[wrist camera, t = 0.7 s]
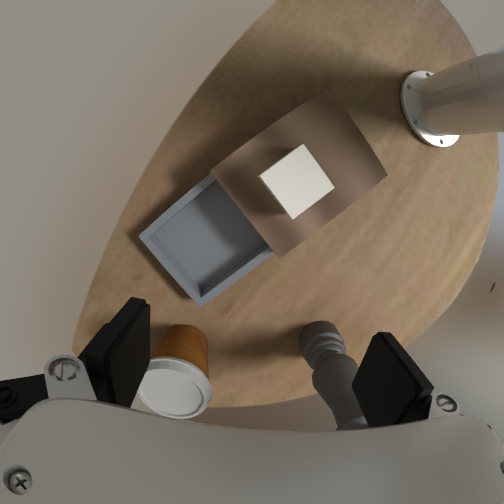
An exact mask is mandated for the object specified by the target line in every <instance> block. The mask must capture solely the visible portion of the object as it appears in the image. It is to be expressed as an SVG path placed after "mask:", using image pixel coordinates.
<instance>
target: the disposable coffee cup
mask: <svg viewBox="0 0 504 504" xmlns="http://www.w3.org/2000/svg"><path fill="white" fill-rule="evenodd" d="M137 392H138V394H139V397H140V398H141V400H142V401H143V402H144V403H145V404H146V405H147V406H148V407H149V408H151V409H152V410H154V411H155V412H157V413H159V414H161V415H164V416H167V417H171V418H179V419H181V418H183V419H185V418H190V417H194V416H196V415H198V414H200V413H201V412H202V411H203V410H204V409H205V407H206V406H207V405H208V404H209V403H210V401H211V398H212V388H211V385H210V382H209V377H208V352H207V340H206V337H205V335H204V334H203V333H202V332H201V331H200V330H199V329H197V328H195V327H193V326H190V325H178V326H175V327H173V328H172V329H171V330H170V331H169V332H168V334H167V335H166V336H165V338H164V339H163V341H162V342H161V343H160V345H159V346H158V347H157V349H156V350H155V352H154V353H153V354H152V356H151V357H150V363H149V366H148V369H147V371H146V373H145V375H144V377H143V380H142V382H141V384H140V386H139V389H138V391H137Z"/></svg>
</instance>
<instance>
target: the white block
mask: <svg viewBox="0 0 504 504" xmlns="http://www.w3.org/2000/svg"><path fill="white" fill-rule="evenodd" d="M257 177H258V178H259V179H260V180H261V182H262V183H263V184H264V186H265V187H266V188H267V190H268V191H269V192H270V193H271V195H272V196H273V197H274V199H275V200H276V201H277V203H278V204H279V205H280V207H281V208H282V209H283V211H284V212H285V213H286V214H287V215H288V216H289V217H290V218H292V219H294V218H296V217H297V216H298V215H300V214H301V213H302V212H303V211H305V210H306V209H307V208H309V207H310V206H311V205H313V204H314V203H315V202H317V201H318V200H319V199H321V198H322V197H323V196H325V195H326V194H327V193H329V192H330V191H331V190H333V189H334V188H335V187H334V186H333V184H332V183H331V182H330V180H329V179H328V177H327V176H326V174H325V173H324V172H323V170H322V169H321V167H320V166H319V164H318V163H317V162H316V160H315V159H314V158H313V156H312V155H311V154H310V152H309V151H308V149H307V148H306V147H305V145H304V144H302V145H300V146H298V147H297V148H295V149H294V150H292V151H291V152H289V153H288V154H287V155H285V156H284V157H282V158H281V159H280V160H278V161H277V162H276V163H274V164H273V165H272V166H270V167H269V168H268V169H266V170H265V171H264V172H262V173H261V174H260V175H258V176H257Z"/></svg>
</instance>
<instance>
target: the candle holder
mask: <svg viewBox="0 0 504 504" xmlns="http://www.w3.org/2000/svg"><path fill="white" fill-rule="evenodd" d="M299 342H300V347H301V350H302V353H303V356H304V358H305V360H306V361H307V363H308V364H309V366H310V367H311V368H312V369H314V371H313V374H312V381H313V386H314V388H315V389H316V390H317V392H318V393H319V394H320V395H321V397H322V398H323V399H324V401H325V402H326V403H327V405H328V406H329V407H330V409H331V410H332V412H333V415H334V417H335V420H336V423H337V426H338V428H337V429H336V430H351V429H363V428H369V426H368V424H367V421H366V419H365V417H364V415H363V412H362V410H361V408H360V405H359V403H358V401H357V399H356V396H355V394H354V392H353V390H352V381H353V379H354V377H355V375H356V373H357V371H358V369H359V367H358V366H357V364H356V362H355V360H354V359H352V358H351V357H349V356H347V355H346V348H345V346H344V341H343V339H342V337H341V336H340V334H339V332H338V330H337V329H336V327H335V325H333V324H332V323H330V322H328V321H318V322H313V323H312V324H310V325H308V326H307V327H306V328H305V329H304V330H303V331H302V332H301V335H300V338H299Z"/></svg>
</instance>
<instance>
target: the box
mask: <svg viewBox="0 0 504 504" xmlns="http://www.w3.org/2000/svg"><path fill="white" fill-rule="evenodd" d="M139 238H140V239H141V240H142V241H143V243H144V244H145V245H146V246H147V247H148V249H149V250H150V251H151V252H152V253H153V255H154V256H155V257H156V258H157V259H158V261H159V262H160V263H161V264H162V265H163V266H164V268H165V269H166V270H167V271H168V272H169V273H170V275H171V276H172V277H173V278H174V279H175V280H176V281H177V283H178V284H179V285H180V286H181V287H182V288H183V289H184V290H185V292H186V293H187V294H188V295H189V296H190V297H191V298H192V299H193V300H194V301H195V303H196V304H197V305H198V306H199V307H200V308H201V307H202V306H204V305H205V304H206V303H208V302H209V301H210V300H212V299H213V298H214V297H216V296H217V295H219V294H220V293H221V292H223V291H224V290H225V289H227V288H228V287H229V286H231V285H232V284H233V283H235V282H236V281H238V280H239V279H240V278H242V277H243V276H244V275H246V274H247V273H248V272H250V271H251V270H252V269H254V268H255V267H256V266H258V265H259V264H260V263H262V262H263V261H264V260H266V259H267V258H268V257H270V256H271V255H272V254H274V251H273V250H272V249H271V248H270V246H269V245H268V244H267V243H266V241H265V240H264V239H263V237H262V236H261V235H260V234H259V232H258V231H257V230H256V229H255V227H254V226H253V225H252V223H251V222H250V221H249V220H248V218H247V217H246V216H245V215H244V213H243V212H242V211H241V210H240V208H239V207H238V206H237V205H236V203H235V202H234V201H233V200H232V198H231V197H230V196H229V195H228V193H227V192H226V191H225V190H224V188H223V187H222V186H221V185H220V183H219V182H218V181H217V180H216V178H215V177H214V176H213V175H212V173H210V174H209V175H208V176H207V177H205V178H204V179H203V180H202V181H200V182H199V183H198V184H197V185H196V186H194V187H193V188H192V189H191V190H190V191H188V192H187V193H186V194H185V195H184V196H183V197H181V198H180V199H179V200H178V201H177V202H176V203H174V204H173V205H172V206H171V207H170V208H169V209H168V210H166V211H165V212H164V213H163V214H162V215H161V216H160V217H159V218H157V219H156V220H155V221H154V222H153V223H152V224H151V225H150V226H149V227H148V228H147V229H145V230H144V231H143V232H142V233H141V234H140V235H139Z"/></svg>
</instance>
